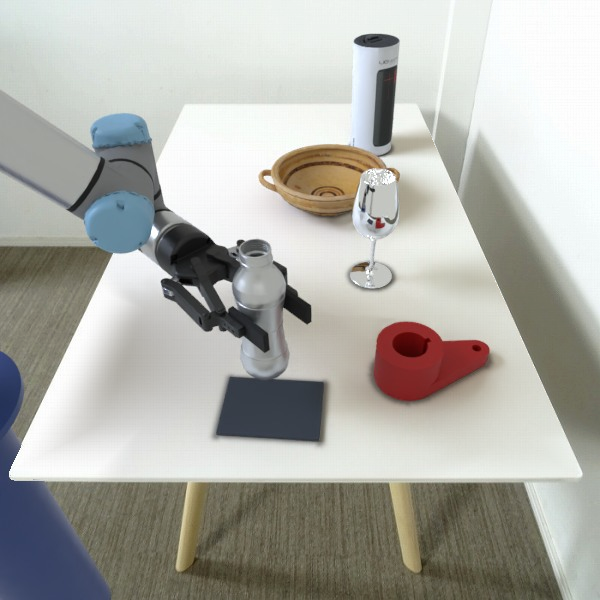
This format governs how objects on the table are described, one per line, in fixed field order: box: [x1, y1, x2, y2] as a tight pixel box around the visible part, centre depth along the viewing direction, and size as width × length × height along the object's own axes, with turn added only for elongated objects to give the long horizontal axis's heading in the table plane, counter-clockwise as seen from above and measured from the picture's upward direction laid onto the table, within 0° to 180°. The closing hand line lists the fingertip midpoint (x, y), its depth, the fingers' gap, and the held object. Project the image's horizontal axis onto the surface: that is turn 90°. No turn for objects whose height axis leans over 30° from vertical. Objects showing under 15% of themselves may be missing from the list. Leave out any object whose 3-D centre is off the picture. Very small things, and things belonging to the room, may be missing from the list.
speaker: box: [349, 33, 401, 157], centre depth 130 cm, size 11×10×26 cm
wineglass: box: [349, 168, 400, 290], centre depth 93 cm, size 8×8×20 cm
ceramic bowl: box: [258, 143, 401, 217], centre depth 117 cm, size 30×24×8 cm
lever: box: [373, 321, 491, 402], centre depth 80 cm, size 18×9×7 cm, turn 106°
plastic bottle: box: [231, 238, 290, 380], centre depth 68 cm, size 6×7×20 cm
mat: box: [215, 376, 325, 442], centre depth 78 cm, size 14×10×1 cm
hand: (288, 328), depth 64 cm, fingers closed on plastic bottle, 6 cm apart
